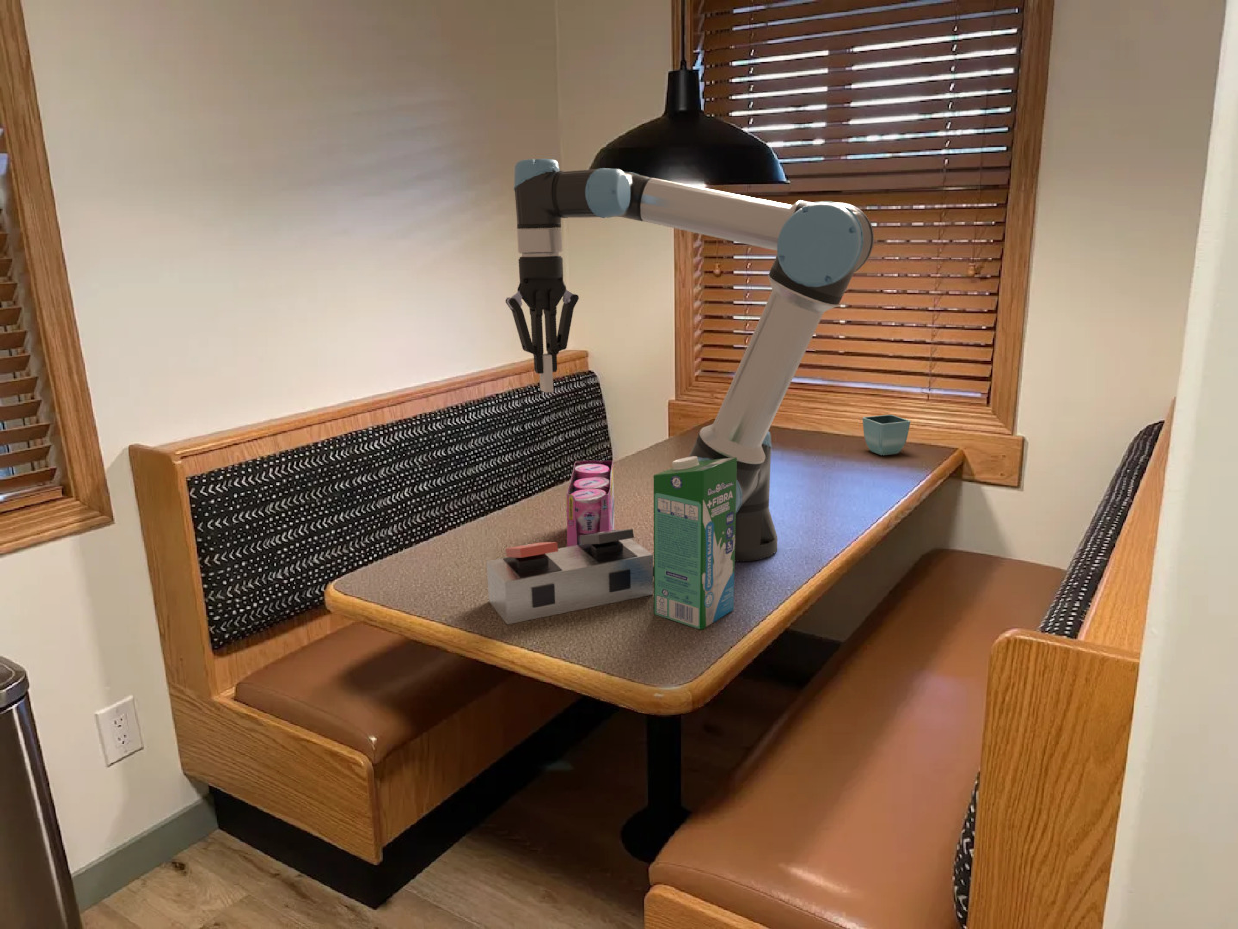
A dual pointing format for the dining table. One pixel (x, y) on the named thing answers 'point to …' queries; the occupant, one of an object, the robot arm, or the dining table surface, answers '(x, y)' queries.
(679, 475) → the milk carton
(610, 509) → the gum box
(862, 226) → the robot arm
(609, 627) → the dining table surface
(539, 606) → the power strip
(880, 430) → the flower pot
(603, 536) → the black rocker
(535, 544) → the red rocker
